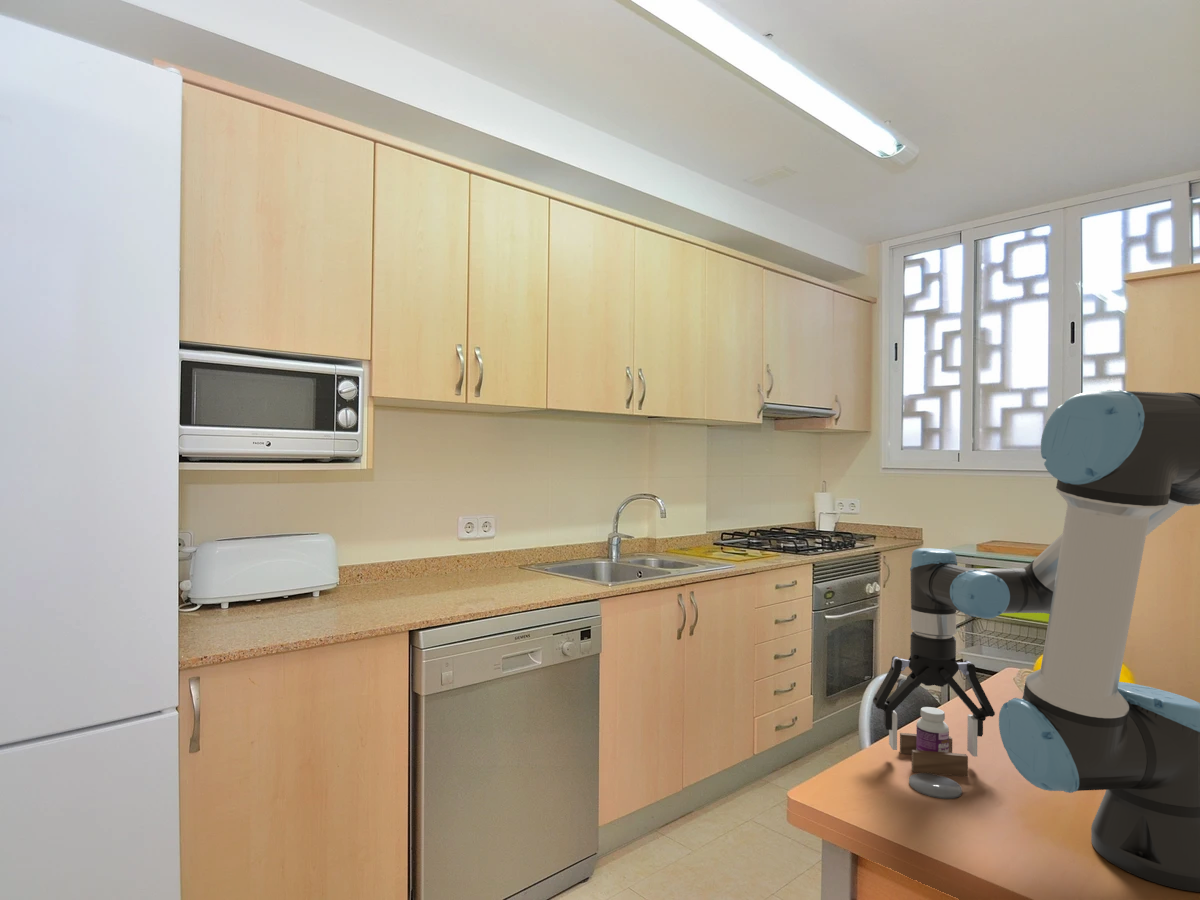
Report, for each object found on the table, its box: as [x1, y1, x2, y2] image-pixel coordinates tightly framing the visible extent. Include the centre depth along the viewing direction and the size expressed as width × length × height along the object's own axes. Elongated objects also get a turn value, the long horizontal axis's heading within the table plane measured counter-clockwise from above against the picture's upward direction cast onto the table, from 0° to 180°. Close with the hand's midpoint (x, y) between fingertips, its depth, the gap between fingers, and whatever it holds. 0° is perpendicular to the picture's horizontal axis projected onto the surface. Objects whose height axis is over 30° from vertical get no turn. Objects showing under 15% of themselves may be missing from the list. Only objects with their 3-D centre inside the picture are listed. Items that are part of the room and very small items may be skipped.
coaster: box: [908, 772, 963, 800], centre depth 116 cm, size 8×8×1 cm
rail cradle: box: [899, 732, 969, 777], centre depth 125 cm, size 9×9×4 cm
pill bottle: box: [916, 706, 950, 753], centre depth 125 cm, size 5×5×10 cm
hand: (932, 750), depth 125 cm, fingers open, 13 cm apart
